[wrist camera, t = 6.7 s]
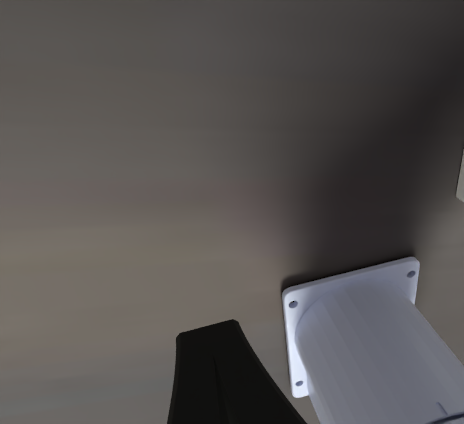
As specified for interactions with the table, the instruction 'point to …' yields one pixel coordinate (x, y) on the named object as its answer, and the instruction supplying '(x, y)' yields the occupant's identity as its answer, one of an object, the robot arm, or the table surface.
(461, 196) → the panel
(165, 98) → the table surface
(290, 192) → the table surface
